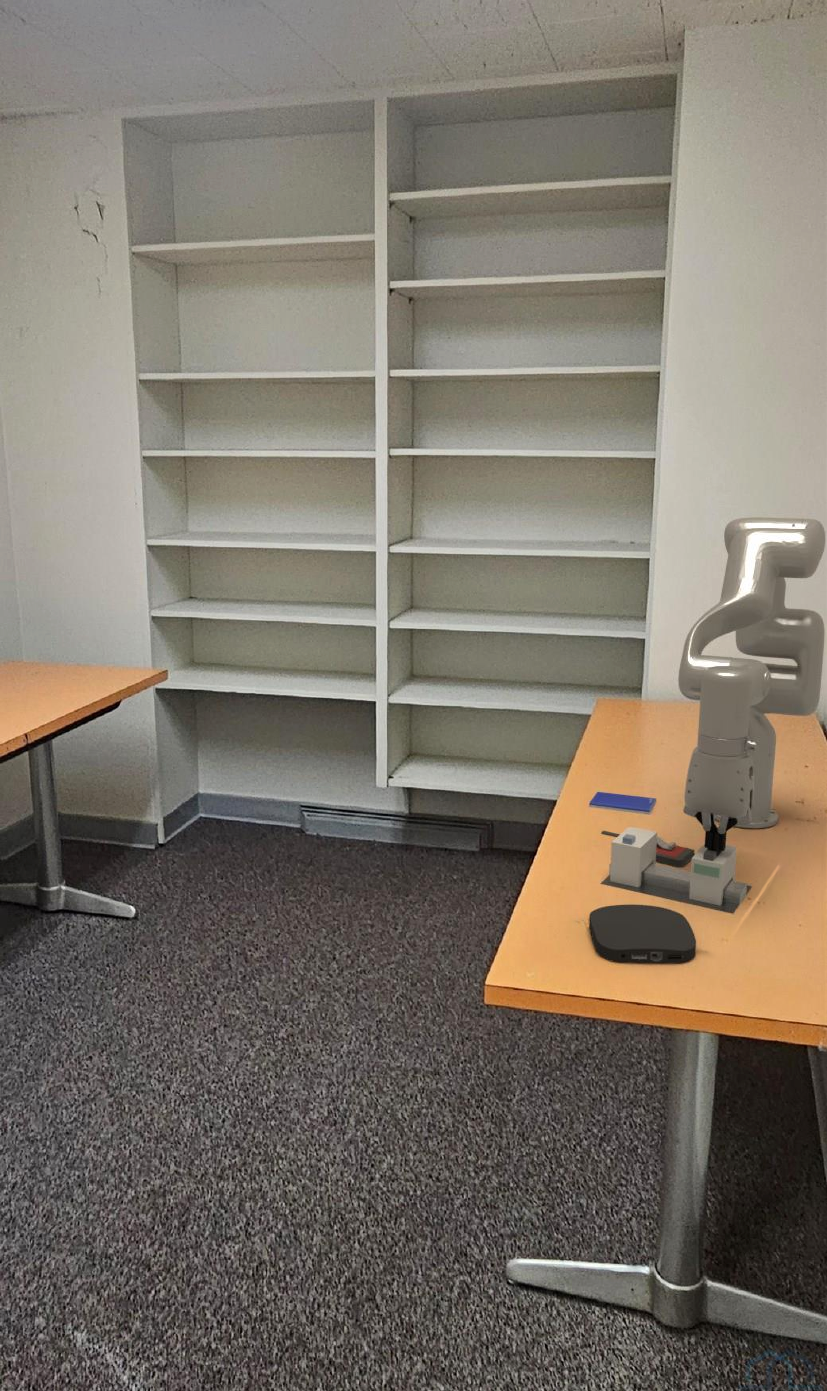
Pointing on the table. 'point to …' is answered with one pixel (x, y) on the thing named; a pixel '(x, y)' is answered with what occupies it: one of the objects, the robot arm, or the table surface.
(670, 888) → the rail plate
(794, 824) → the table surface
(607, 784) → the table surface
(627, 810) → the hard drive
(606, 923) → the media streaming box
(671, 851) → the walkie-talkie
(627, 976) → the table surface
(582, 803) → the table surface
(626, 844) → the mounted module
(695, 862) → the block
